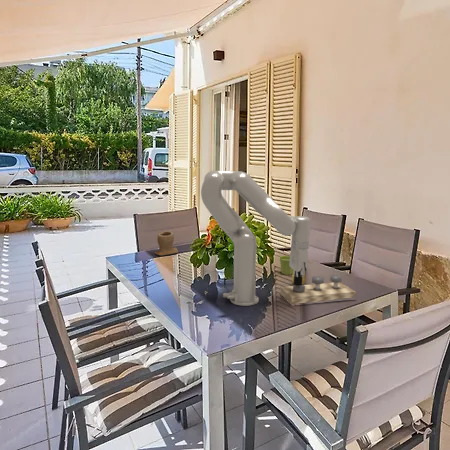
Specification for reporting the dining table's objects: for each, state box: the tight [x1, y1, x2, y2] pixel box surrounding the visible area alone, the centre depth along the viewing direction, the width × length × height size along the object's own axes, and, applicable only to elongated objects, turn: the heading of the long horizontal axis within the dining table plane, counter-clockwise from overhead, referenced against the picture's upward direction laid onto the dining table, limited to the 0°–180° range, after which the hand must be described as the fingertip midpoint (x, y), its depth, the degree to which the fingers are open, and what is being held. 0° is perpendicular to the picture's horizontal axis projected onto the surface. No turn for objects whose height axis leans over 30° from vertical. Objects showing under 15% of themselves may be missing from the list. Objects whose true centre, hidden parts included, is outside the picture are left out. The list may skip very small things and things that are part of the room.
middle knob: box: [311, 275, 325, 291], centre depth 182 cm, size 5×5×6 cm
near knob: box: [292, 284, 305, 293], centre depth 180 cm, size 5×5×6 cm
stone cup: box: [154, 230, 179, 257], centre depth 259 cm, size 15×12×15 cm
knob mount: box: [279, 282, 357, 304], centre depth 182 cm, size 30×14×4 cm, turn 103°
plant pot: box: [278, 255, 293, 276], centre depth 219 cm, size 9×9×9 cm
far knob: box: [329, 274, 343, 289], centre depth 184 cm, size 5×5×6 cm
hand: (297, 284), depth 180 cm, fingers closed
